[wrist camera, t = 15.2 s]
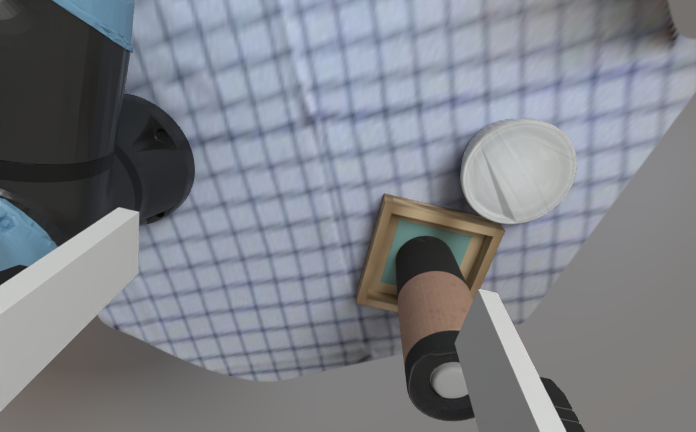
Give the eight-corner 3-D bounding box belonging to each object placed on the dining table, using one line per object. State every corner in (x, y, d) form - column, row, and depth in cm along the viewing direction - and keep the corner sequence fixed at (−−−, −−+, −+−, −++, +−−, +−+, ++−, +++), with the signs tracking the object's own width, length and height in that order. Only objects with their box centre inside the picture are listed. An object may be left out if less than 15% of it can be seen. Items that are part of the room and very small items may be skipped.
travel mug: (455, 285, 51) (502, 422, 33) (394, 288, 52) (407, 424, 33) (455, 231, 48) (507, 348, 30) (391, 235, 49) (403, 352, 30)
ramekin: (433, 178, 47) (440, 194, 42) (493, 90, 42) (508, 97, 38) (512, 222, 48) (527, 242, 43) (576, 142, 44) (601, 155, 39)
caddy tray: (356, 289, 53) (356, 303, 50) (384, 193, 48) (385, 202, 45) (458, 312, 54) (463, 327, 51) (497, 220, 48) (504, 231, 45)
